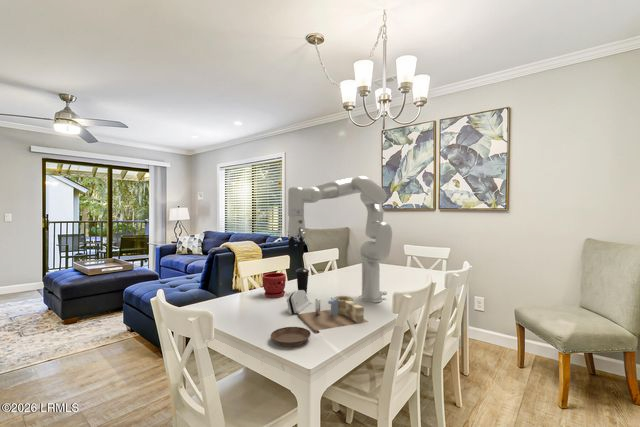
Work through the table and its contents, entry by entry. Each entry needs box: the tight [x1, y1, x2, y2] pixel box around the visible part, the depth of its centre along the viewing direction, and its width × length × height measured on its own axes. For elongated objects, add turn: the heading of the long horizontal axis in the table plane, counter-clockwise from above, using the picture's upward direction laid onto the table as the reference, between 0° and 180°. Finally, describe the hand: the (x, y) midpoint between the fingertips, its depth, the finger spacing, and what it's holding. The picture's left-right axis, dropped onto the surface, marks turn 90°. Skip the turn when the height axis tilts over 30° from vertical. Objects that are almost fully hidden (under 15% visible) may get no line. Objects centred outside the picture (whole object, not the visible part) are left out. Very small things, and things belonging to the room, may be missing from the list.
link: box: [333, 295, 365, 324], centre depth 140 cm, size 20×9×6 cm, turn 23°
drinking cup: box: [295, 259, 310, 295], centre depth 178 cm, size 8×8×20 cm
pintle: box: [314, 298, 321, 316], centre depth 140 cm, size 2×2×8 cm
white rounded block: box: [286, 289, 312, 315], centre depth 151 cm, size 17×5×10 cm, turn 161°
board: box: [297, 309, 369, 334], centre depth 136 cm, size 24×21×1 cm
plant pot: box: [261, 272, 287, 299], centre depth 175 cm, size 13×13×12 cm
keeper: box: [328, 297, 338, 317], centre depth 138 cm, size 5×5×8 cm
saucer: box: [270, 326, 312, 348], centre depth 115 cm, size 15×15×3 cm
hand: (295, 249), depth 148 cm, fingers open, 9 cm apart
